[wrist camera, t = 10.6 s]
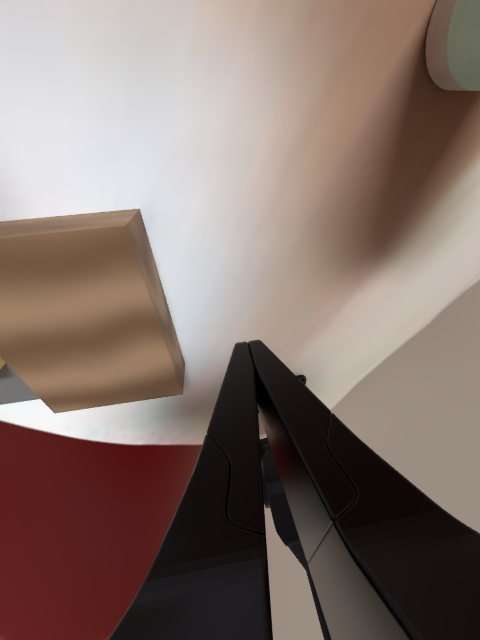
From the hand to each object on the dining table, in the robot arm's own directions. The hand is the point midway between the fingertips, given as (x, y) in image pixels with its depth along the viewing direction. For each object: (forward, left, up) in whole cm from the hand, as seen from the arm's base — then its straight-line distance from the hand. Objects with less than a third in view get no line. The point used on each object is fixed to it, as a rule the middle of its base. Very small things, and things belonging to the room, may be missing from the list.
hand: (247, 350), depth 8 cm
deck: (-6, +11, -13) cm, 18 cm away
